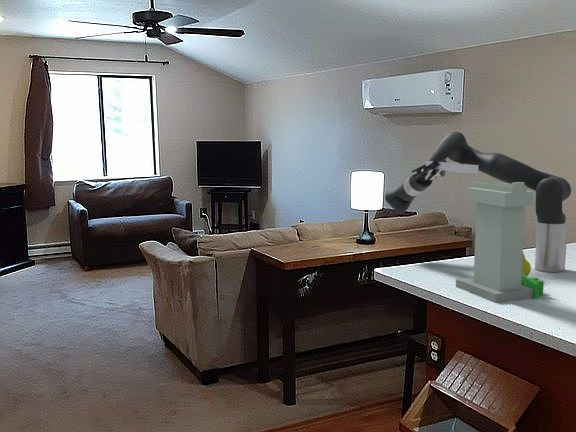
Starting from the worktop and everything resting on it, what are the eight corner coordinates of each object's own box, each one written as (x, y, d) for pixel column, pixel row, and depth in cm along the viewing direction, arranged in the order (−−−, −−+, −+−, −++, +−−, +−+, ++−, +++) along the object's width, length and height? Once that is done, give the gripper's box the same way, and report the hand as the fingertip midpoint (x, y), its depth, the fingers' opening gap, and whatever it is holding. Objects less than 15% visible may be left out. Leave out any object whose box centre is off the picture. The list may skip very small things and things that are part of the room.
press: (491, 282, 193) (496, 177, 188) (533, 297, 175) (539, 181, 170) (455, 286, 188) (459, 178, 183) (494, 302, 170) (499, 183, 166)
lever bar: (431, 168, 212) (432, 161, 211) (478, 173, 187) (478, 165, 187) (425, 168, 211) (426, 161, 211) (471, 173, 187) (471, 165, 186)
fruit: (508, 274, 203) (510, 240, 202) (529, 276, 201) (531, 242, 199) (509, 279, 197) (510, 244, 195) (530, 281, 195) (532, 245, 193)
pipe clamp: (547, 299, 174) (547, 284, 173) (534, 299, 174) (535, 284, 174) (532, 288, 185) (533, 274, 185) (520, 288, 185) (521, 274, 185)
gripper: (398, 174, 218) (421, 152, 203) (430, 173, 223) (455, 151, 207) (403, 192, 215) (427, 172, 200) (435, 191, 220) (461, 170, 205)
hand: (441, 162), depth 204 cm, fingers closed on lever bar, 2 cm apart
